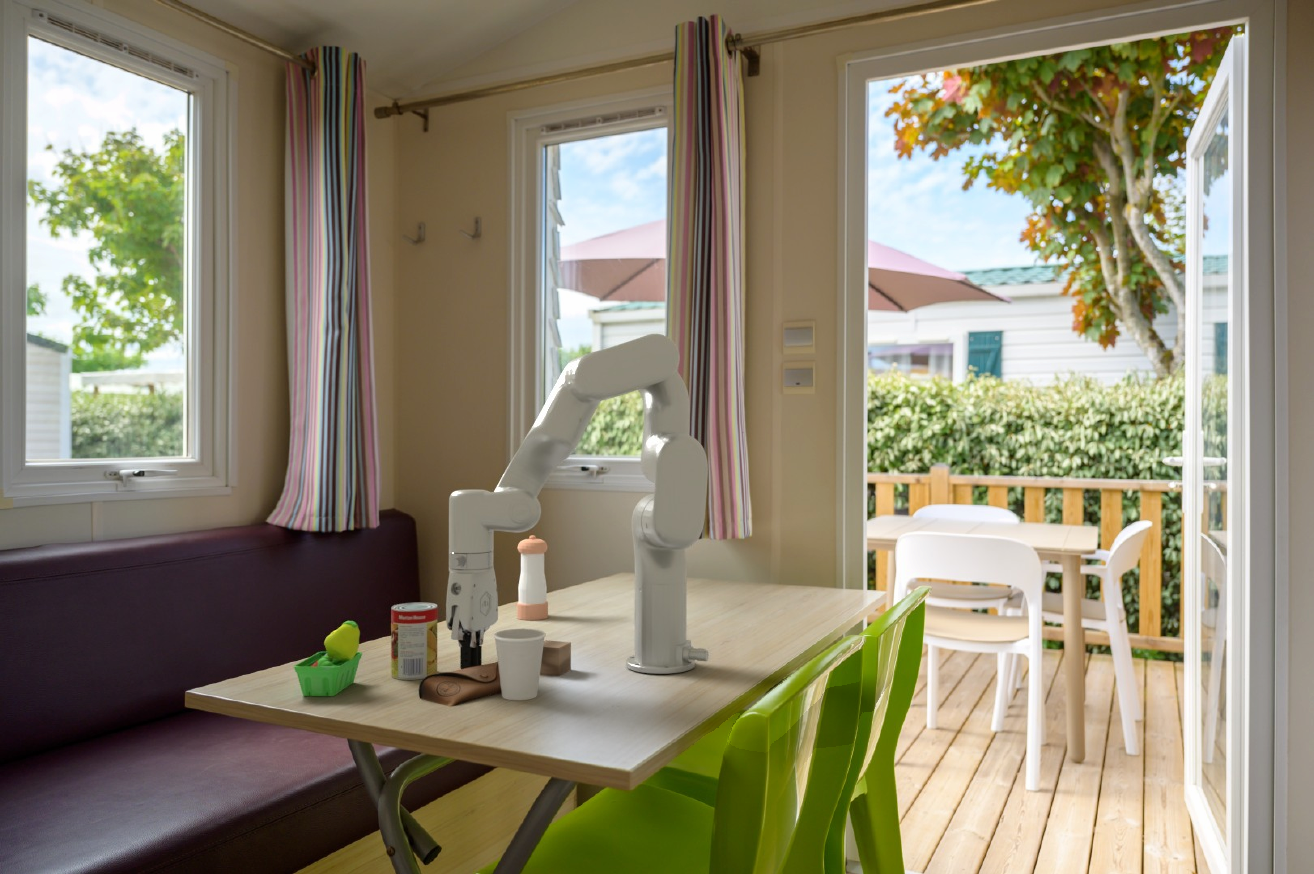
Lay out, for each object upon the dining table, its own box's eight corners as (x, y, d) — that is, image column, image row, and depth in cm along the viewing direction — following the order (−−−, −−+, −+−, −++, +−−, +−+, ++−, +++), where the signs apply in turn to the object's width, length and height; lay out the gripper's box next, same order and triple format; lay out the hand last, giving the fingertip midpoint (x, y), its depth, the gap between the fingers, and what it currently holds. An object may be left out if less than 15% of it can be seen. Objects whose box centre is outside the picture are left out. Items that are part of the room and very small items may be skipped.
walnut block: (570, 670, 167) (570, 642, 167) (558, 676, 162) (558, 647, 162) (545, 667, 168) (545, 640, 168) (533, 674, 164) (533, 645, 164)
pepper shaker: (545, 620, 213) (546, 537, 213) (514, 620, 213) (514, 537, 213) (550, 614, 220) (550, 534, 220) (519, 614, 220) (519, 533, 220)
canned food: (435, 667, 168) (435, 601, 168) (439, 677, 161) (439, 608, 161) (390, 670, 166) (390, 603, 166) (392, 681, 158) (392, 611, 158)
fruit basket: (319, 680, 159) (320, 614, 159) (370, 680, 159) (371, 614, 159) (291, 698, 148) (291, 627, 148) (346, 699, 147) (346, 628, 147)
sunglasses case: (450, 706, 142) (436, 666, 145) (426, 722, 146) (414, 682, 149) (537, 684, 156) (524, 647, 158) (513, 699, 160) (501, 663, 162)
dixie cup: (486, 701, 146) (486, 637, 146) (503, 687, 154) (503, 627, 154) (537, 703, 145) (537, 639, 145) (551, 689, 153) (552, 629, 153)
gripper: (467, 568, 150) (467, 681, 150) (511, 557, 164) (511, 661, 164) (427, 566, 153) (427, 677, 152) (474, 556, 167) (474, 658, 166)
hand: (470, 668), depth 158 cm, fingers closed
